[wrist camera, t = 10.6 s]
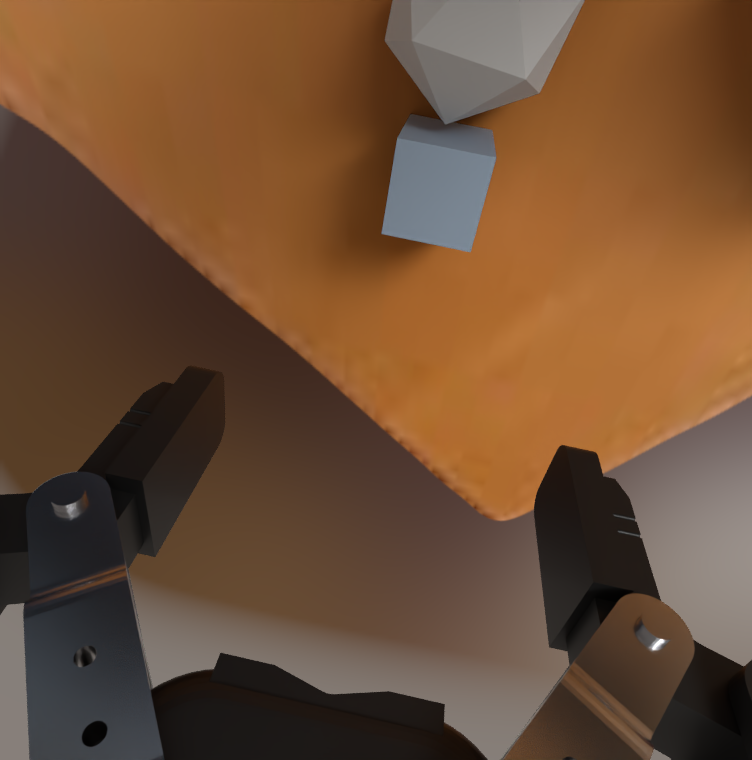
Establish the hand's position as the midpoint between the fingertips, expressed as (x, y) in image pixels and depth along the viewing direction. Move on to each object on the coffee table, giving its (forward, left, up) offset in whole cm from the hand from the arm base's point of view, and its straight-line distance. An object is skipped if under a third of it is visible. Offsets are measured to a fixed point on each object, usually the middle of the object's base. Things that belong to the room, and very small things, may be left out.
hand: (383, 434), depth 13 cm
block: (0, 0, -26) cm, 26 cm away
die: (-3, 0, -21) cm, 21 cm away
